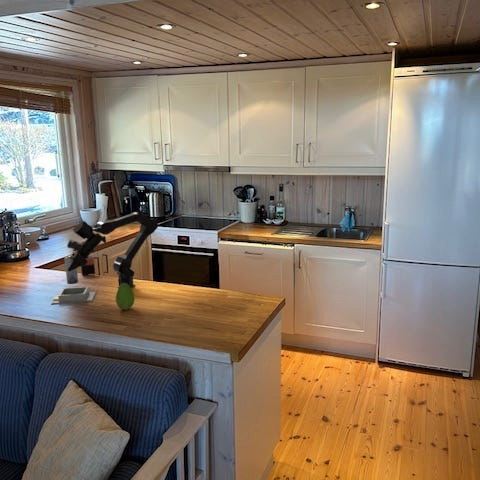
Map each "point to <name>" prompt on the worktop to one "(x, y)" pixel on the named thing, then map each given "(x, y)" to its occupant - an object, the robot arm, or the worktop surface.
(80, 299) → the tray
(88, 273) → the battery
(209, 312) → the worktop surface
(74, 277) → the big cell
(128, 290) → the avocado
